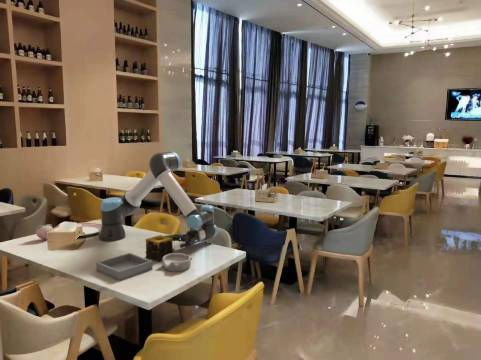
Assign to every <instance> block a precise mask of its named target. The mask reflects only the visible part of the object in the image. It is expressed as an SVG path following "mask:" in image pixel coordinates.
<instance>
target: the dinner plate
mask: <svg viewBox="0 0 481 360" xmlns="http://www.w3.org/2000/svg"><path fill="white" fill-rule="evenodd" d="M76 223H77V224H81V225H82V227H83V231H84V232H85V235H86V236H85V237H88V236H93V235H96V234H99V233H100V230H101V226H102V223H97V222H76Z"/></svg>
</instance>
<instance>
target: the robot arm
mask: <svg viewBox="0 0 481 360" xmlns="http://www.w3.org/2000/svg"><path fill="white" fill-rule="evenodd" d="M148 165H149V166H148V167H149V171H148V172H147V173H146V174H145V175H144V176H143V177H142V178H141V179H140V180H139V182H138V183H137V184H136V185H135V186H134V187H133V188H132V189H131V190H130V191H126V192H125V193H124V194H123V195H122V196H121V197H118V196H117V197H116V196H115V197H107V198H103V200H101V202H100V216H101V217H100V218H101V219H100V220H101V224H102V226H101V230H100V232H98V238H99V240H100V241H104V242H115V241H119V240H123V239H125V238H126V233H127V232H126V231H125V228H124V225H123V218H125V217H127V216H131V215H135V214H136V212H138V211H139V209H140V206H141V204H142V200H143V199H144V198H145V197H146V196H147V195H148V194H149V193H150V192H151V191H152V190H153V189H154V188H155V187H156V186H157V185H158V184H159V183H161V186H163V187H164V189H165V190H166V192H167V193H168V195H169V196H170V197H171V198H172V200H173V202H174V203H175V205H177V207H178V209H180V211H181V213H183V215H184V217H186V224H187V227H188V228H190V229H191V230H188V231H187V232H186V233H185V234H182V233H177V234H168V235H166V234H165V235H164V236H166V237H170V238H173V242H178V243H175V244H173V251H176V250H180V249H183V248H192V247H193V246H194V245H195V244H197V243H200V242H203V241H206V240H209V239H210V240H211V239H212V238H215V237H216V236H217V235H218V232H219V229H218V226H217V225H216V224H215V210H214V208H215V207H214V206H213V205H211V204H203V205H200V209H198V208H197V207H196V205H195V204H194V203H193V201H192V199H190V197H189V196H188V194H187V193H186V192H185V190H184V189H183V188H182V186H181V185H180V183H179V182H178V181H177V179H176V178H175V177H174V175H173V174H172V173H173V172H176V171H177V170H179V169H180V168H181V158H180V156H179V154H177V152H174V151H170V150H169V151H165V152H157V153H155V154H153V155H152V156H151V157H150V159H149V164H148Z"/></svg>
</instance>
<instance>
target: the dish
mask: <svg viewBox="0 0 481 360" xmlns="http://www.w3.org/2000/svg"><path fill="white" fill-rule="evenodd" d="M192 260H193V257H192V255H189V254H185V253H182V252H181V253H179V252H173V253H171V254H167V255H165V256H164V257H163V259H162V261H161V262H162V265H163V268H164V269H165V270H167V271H170V272H183V271H185V270H188V269H189V268H190V267H191V264H192Z"/></svg>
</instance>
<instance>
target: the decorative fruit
mask: <svg viewBox="0 0 481 360" xmlns="http://www.w3.org/2000/svg"><path fill="white" fill-rule="evenodd" d="M51 230H53V231H54V228H53V225H52V224H49V223H45V222H44V223H43V225H42V224H41V225H38V226H36V230H35V234H36V236H37V237H38V238H39V239H41V240H45V241H46V240H48V239H47V232H49V231H51Z"/></svg>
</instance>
